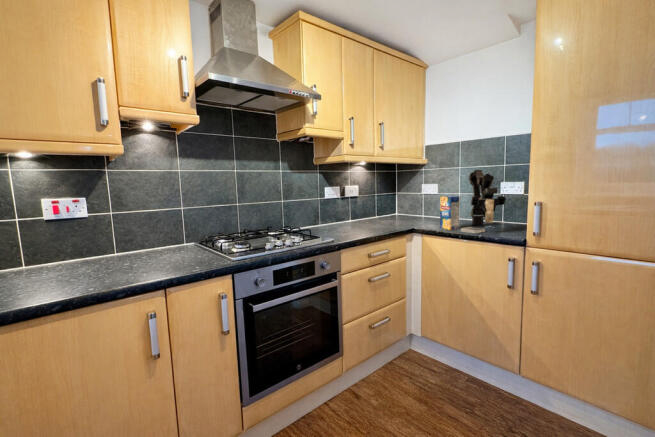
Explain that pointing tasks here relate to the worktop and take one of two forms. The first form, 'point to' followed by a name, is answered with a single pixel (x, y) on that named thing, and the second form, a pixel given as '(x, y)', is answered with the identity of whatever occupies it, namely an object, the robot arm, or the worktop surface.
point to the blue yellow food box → (449, 212)
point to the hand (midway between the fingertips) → (490, 211)
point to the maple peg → (489, 211)
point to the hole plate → (472, 230)
